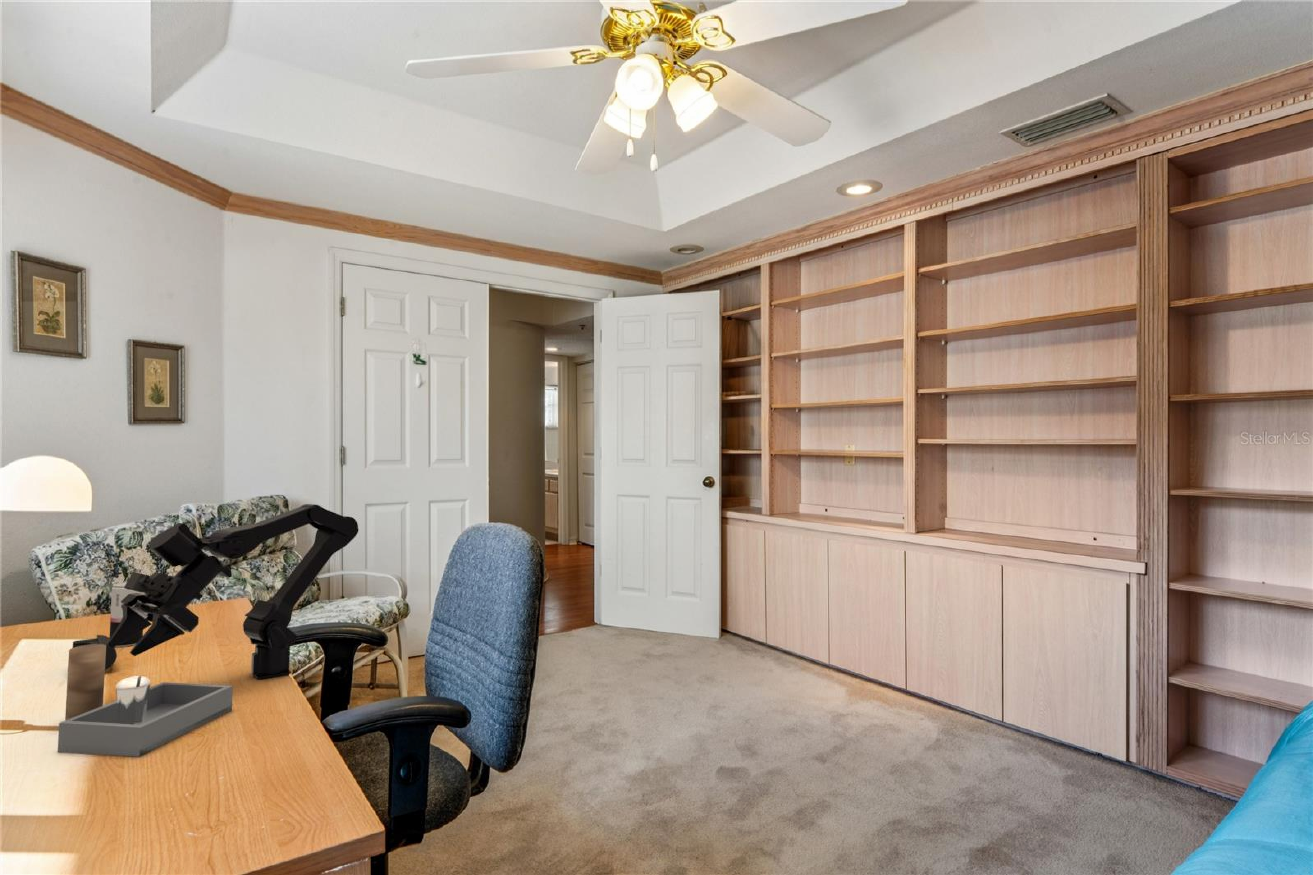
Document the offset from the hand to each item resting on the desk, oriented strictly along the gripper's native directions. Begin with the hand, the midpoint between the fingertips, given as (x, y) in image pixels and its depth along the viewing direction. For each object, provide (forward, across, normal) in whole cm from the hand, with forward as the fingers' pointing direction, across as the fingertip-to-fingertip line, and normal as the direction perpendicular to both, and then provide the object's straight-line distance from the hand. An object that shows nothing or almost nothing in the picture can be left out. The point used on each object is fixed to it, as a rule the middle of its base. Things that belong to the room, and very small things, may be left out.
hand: (120, 650), depth 122 cm
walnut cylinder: (+12, 0, +5) cm, 12 cm away
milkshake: (+10, +15, +5) cm, 19 cm away
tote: (+8, +13, +8) cm, 17 cm away
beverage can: (-7, -52, +24) cm, 58 cm away
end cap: (+2, -34, +14) cm, 37 cm away
